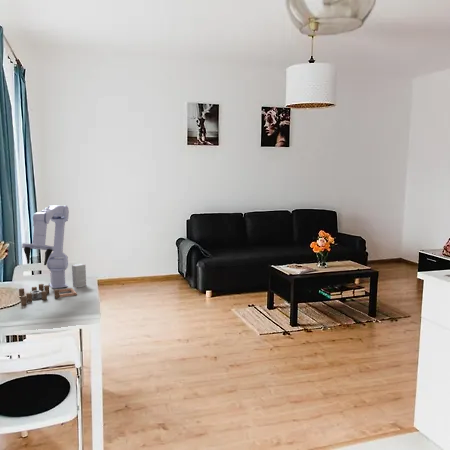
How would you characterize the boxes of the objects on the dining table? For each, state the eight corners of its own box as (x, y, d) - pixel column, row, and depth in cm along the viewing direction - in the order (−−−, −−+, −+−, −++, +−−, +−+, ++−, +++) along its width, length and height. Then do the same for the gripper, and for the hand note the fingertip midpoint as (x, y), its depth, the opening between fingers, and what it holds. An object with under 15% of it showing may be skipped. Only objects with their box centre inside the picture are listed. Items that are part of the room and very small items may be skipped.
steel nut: (29, 296, 239) (29, 291, 238) (40, 295, 241) (40, 289, 241) (31, 299, 234) (31, 293, 233) (42, 298, 236) (42, 292, 236)
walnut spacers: (15, 294, 242) (15, 287, 241) (53, 289, 251) (53, 282, 251) (21, 305, 224) (21, 297, 224) (61, 300, 234) (61, 292, 233)
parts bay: (54, 292, 247) (54, 290, 247) (71, 290, 251) (71, 287, 251) (59, 297, 238) (59, 295, 238) (76, 295, 242) (76, 292, 242)
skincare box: (82, 284, 262) (82, 263, 261) (86, 285, 259) (85, 264, 258) (72, 286, 258) (71, 264, 257) (76, 288, 255) (75, 266, 254)
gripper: (25, 232, 222) (21, 261, 219) (57, 236, 230) (54, 264, 226) (22, 235, 228) (19, 263, 225) (53, 239, 235) (51, 266, 232)
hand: (36, 264), depth 226 cm, fingers open, 7 cm apart
